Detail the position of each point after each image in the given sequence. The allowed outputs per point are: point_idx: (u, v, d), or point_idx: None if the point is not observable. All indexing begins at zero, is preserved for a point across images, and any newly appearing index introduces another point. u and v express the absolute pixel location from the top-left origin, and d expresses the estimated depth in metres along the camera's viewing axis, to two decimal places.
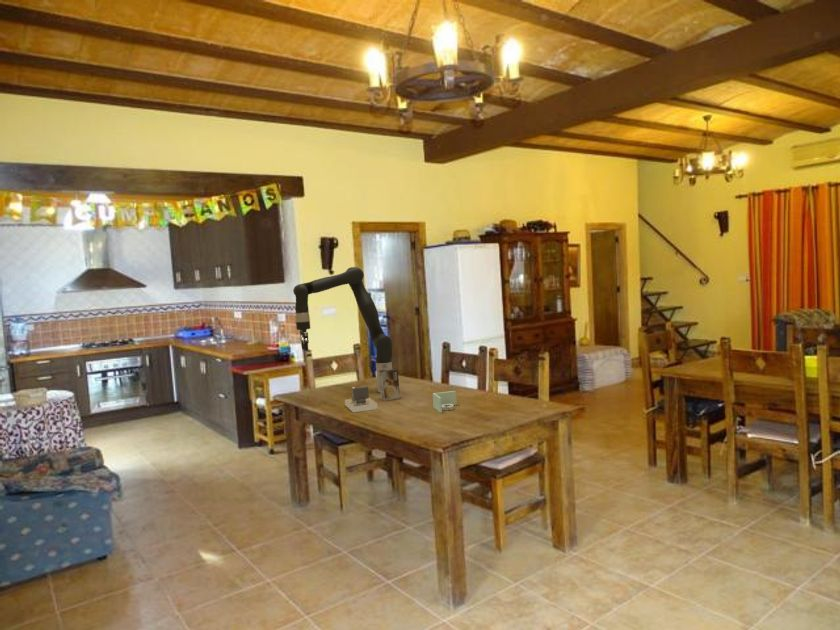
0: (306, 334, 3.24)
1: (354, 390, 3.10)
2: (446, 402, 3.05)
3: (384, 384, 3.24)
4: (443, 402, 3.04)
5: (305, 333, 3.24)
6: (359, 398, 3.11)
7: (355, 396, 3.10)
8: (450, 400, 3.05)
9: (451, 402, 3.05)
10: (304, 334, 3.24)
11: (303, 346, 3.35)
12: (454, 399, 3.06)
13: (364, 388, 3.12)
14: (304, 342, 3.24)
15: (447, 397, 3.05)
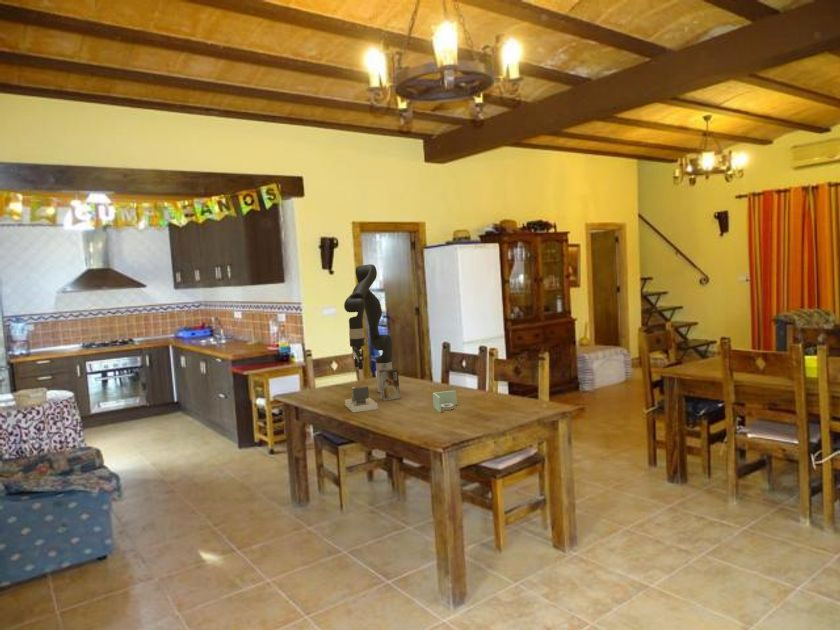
0: (361, 352, 3.04)
1: (354, 390, 3.10)
2: (446, 402, 3.05)
3: (384, 384, 3.24)
4: (443, 402, 3.05)
5: (360, 351, 3.04)
6: (359, 398, 3.11)
7: (355, 396, 3.10)
8: (450, 400, 3.06)
9: (451, 402, 3.06)
10: (359, 352, 3.04)
11: (356, 364, 3.15)
12: (454, 399, 3.06)
13: (364, 388, 3.12)
14: (359, 360, 3.04)
15: (447, 397, 3.05)
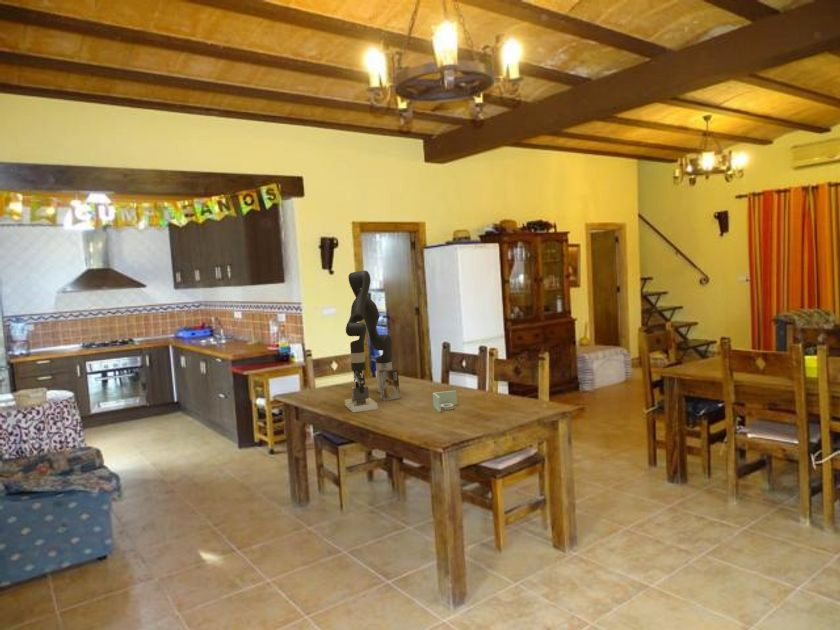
0: (362, 376, 3.05)
1: (354, 390, 3.10)
2: (446, 402, 3.05)
3: (384, 384, 3.24)
4: (443, 402, 3.05)
5: (361, 375, 3.05)
6: (359, 398, 3.11)
7: (355, 396, 3.10)
8: (450, 400, 3.06)
9: (451, 402, 3.06)
10: (360, 376, 3.05)
11: None
12: (454, 399, 3.06)
13: (364, 388, 3.12)
14: (360, 384, 3.04)
15: (447, 397, 3.05)
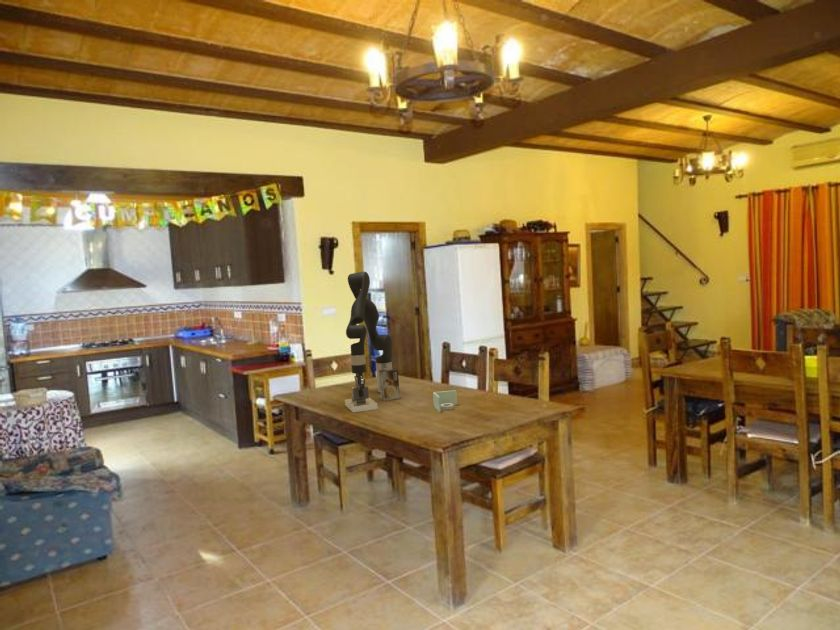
0: (363, 382, 3.06)
1: (354, 390, 3.10)
2: (446, 401, 3.06)
3: (384, 384, 3.24)
4: (443, 401, 3.06)
5: (362, 381, 3.06)
6: (359, 398, 3.11)
7: (355, 396, 3.10)
8: (450, 399, 3.06)
9: (451, 401, 3.06)
10: (361, 382, 3.06)
11: None
12: (455, 398, 3.07)
13: (364, 388, 3.12)
14: (360, 388, 3.07)
15: (447, 396, 3.06)
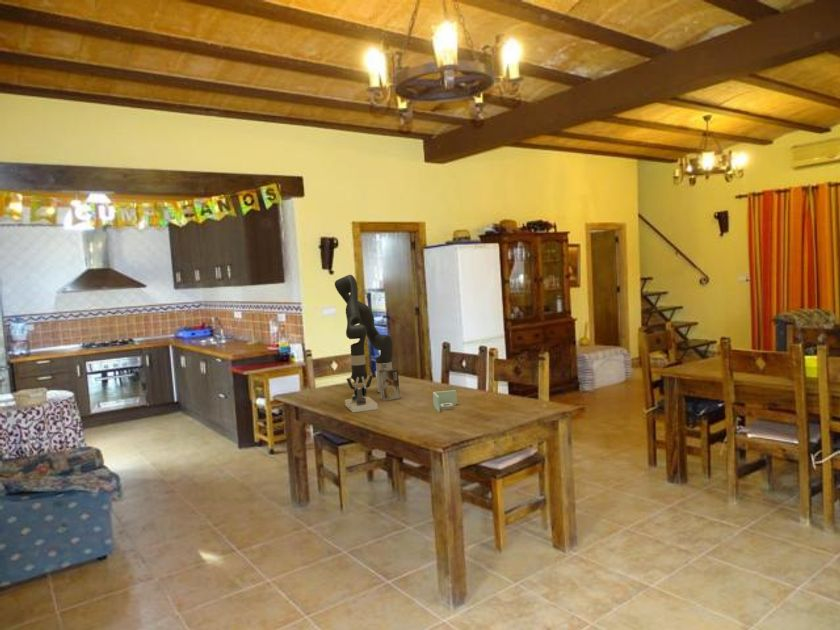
0: None
1: (361, 390, 3.09)
2: (446, 401, 3.06)
3: (384, 384, 3.24)
4: (443, 401, 3.06)
5: None
6: (362, 398, 3.11)
7: (362, 396, 3.09)
8: (450, 399, 3.07)
9: (451, 401, 3.07)
10: None
11: None
12: (454, 398, 3.07)
13: None
14: (369, 385, 3.12)
15: (447, 396, 3.06)
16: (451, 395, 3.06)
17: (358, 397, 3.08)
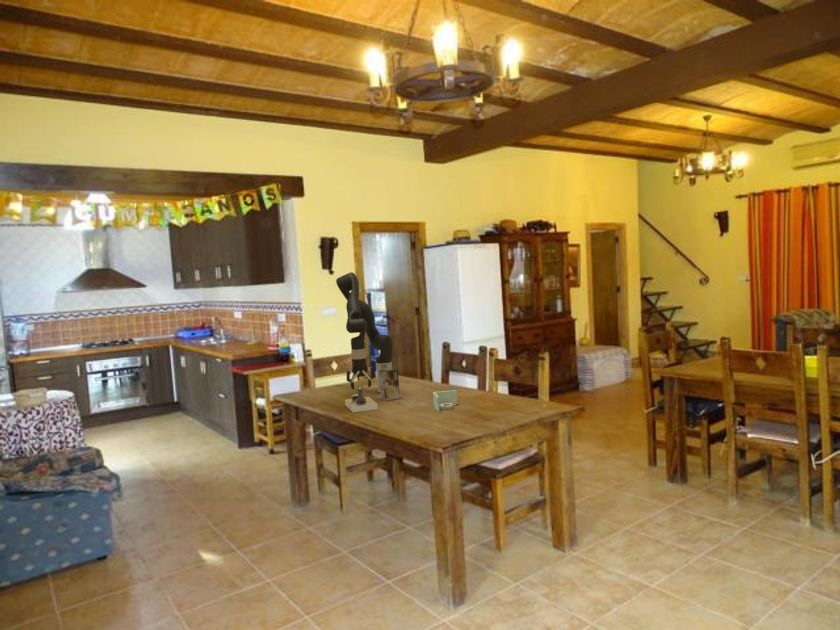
0: None
1: (362, 390, 3.09)
2: (446, 401, 3.07)
3: (384, 384, 3.24)
4: (443, 401, 3.06)
5: None
6: (363, 398, 3.11)
7: (362, 396, 3.09)
8: (450, 399, 3.07)
9: (451, 401, 3.07)
10: None
11: (353, 386, 3.10)
12: (455, 398, 3.07)
13: (362, 387, 3.14)
14: None
15: (447, 396, 3.06)
16: (451, 395, 3.07)
17: (359, 397, 3.08)
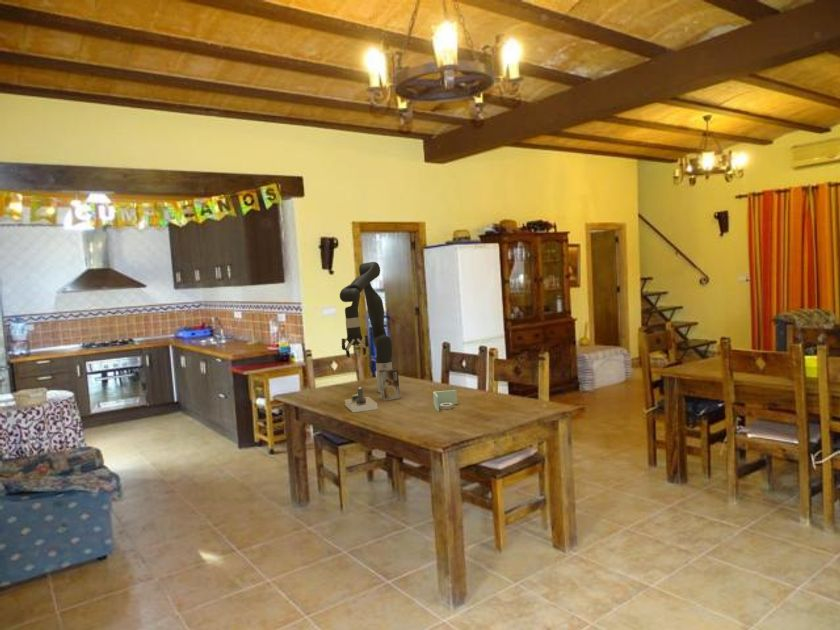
0: None
1: (362, 390, 3.09)
2: (446, 401, 3.07)
3: (384, 384, 3.24)
4: (443, 401, 3.07)
5: None
6: (363, 398, 3.11)
7: (362, 396, 3.09)
8: (451, 399, 3.07)
9: (452, 401, 3.07)
10: None
11: None
12: (455, 398, 3.07)
13: (362, 387, 3.14)
14: (368, 345, 3.20)
15: (447, 396, 3.07)
16: (451, 395, 3.07)
17: (359, 397, 3.08)
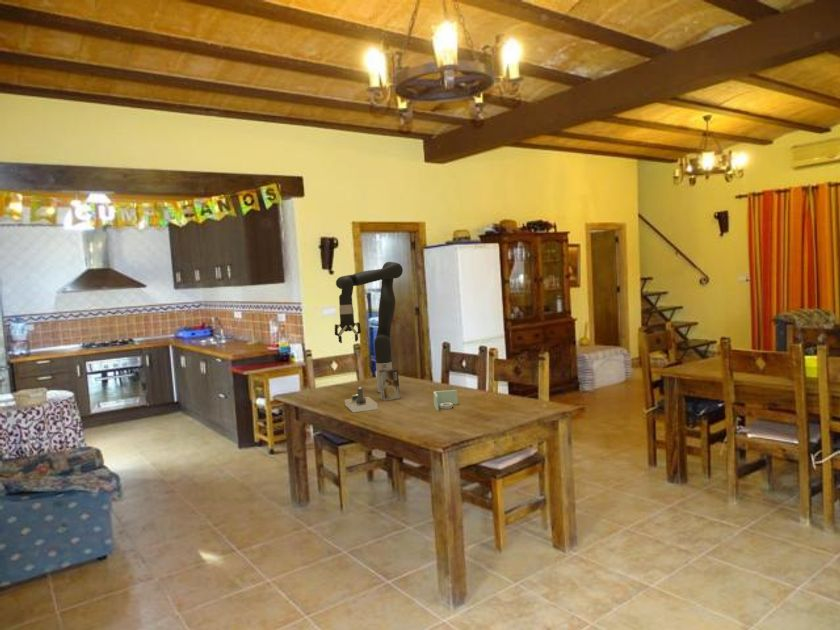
0: None
1: (362, 390, 3.09)
2: (447, 401, 3.08)
3: (384, 384, 3.24)
4: (444, 401, 3.07)
5: None
6: (363, 398, 3.11)
7: (362, 396, 3.09)
8: (451, 399, 3.08)
9: (452, 401, 3.08)
10: None
11: None
12: (455, 398, 3.08)
13: (362, 387, 3.14)
14: None
15: (448, 396, 3.07)
16: (452, 395, 3.08)
17: (359, 397, 3.08)
